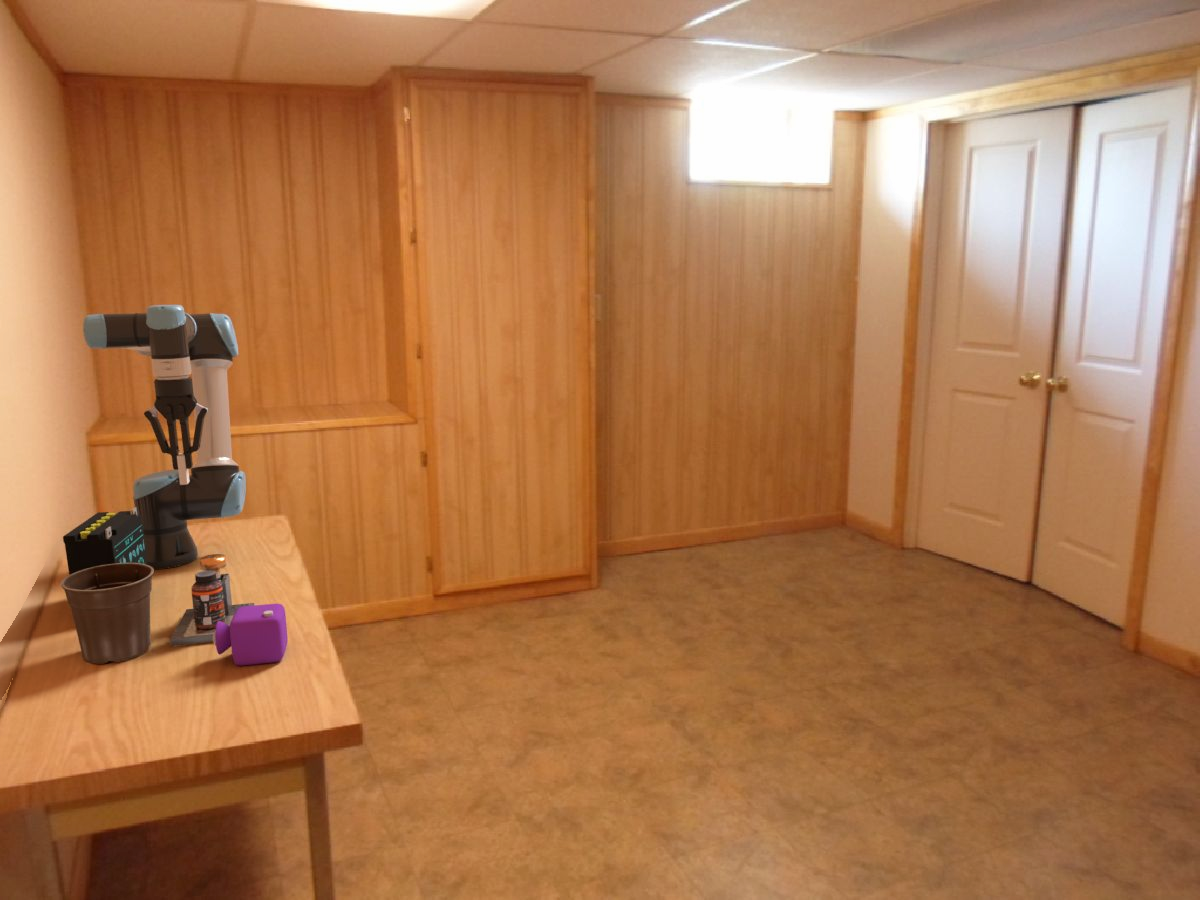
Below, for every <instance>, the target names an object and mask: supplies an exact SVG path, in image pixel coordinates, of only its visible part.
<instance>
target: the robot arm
mask: <svg viewBox="0 0 1200 900" xmlns="http://www.w3.org/2000/svg"><path fill="white" fill-rule="evenodd" d="M145 311H146V312H135V313H130V312H129V313H96V314H88V315H86V316H85V317H84V318H83V323H82V329H83V338H84V342H85V343H86V345H87V346H88V347H89V348H91V349H102V350H105V349H123V350H124V349H125V350H131V351H132V350H133V351H134V352H135V353H138V354H140V355H142V356H147V357H151V367H152V375H153V377H154V378H156V379H154V381H153V384H154V392H155V393H154V394H155V400H154V403H153V407H151V408H149V409H147V410H146V411H144V413H143V415H144V417H145V418H146V419H147V420H148V421H149V423H150V425H151V427H152V429H153V432H154V435H155V438H156V440H157V443H158V446H159V448H160V450H161V453H163V454H167V455H170V456H171V463H172V468H173V469H166V470H160V471H156V472H151V473H148V474H145V475H142V476H141V477H138V478H137V479H136V480H134V482H133V483H132V491H133V497H132V500H133V502H134V508H135V507H136V508H137V515H142V525H143V533H144V541H145V549H146V557H147V565H149V566H151V567H152V568H153V569H154V570H162V568H164V569H169V568H168V567H171V568H175V566H176V567H178V565H180V566H182V564H184V565H186V564H185V563H187V564H189V563H192V562H193V561H195V560H196V559H198V557H199V552H198V547H197V545H196V543H195V541H194V539H193V536H192V535H191V533H190V531H189V528H188V521H192V520H193V521H194V520H207V519H218V518H220V519H224V518H229V517H235V516H239V515H240V514H241V513H242V512H243V509H244V506H245V502H246V501H245V500H246V494H247V493H246V491H247V483H246V482H247V481H246V480H247V477H246V473H245V472H244V471H242V470H240V467H239V464H238V463H237V462H236V461H234V460H233V454H232V453H233V449H232V434H231V418H230V417H231V416H230V415H231V414H230V401H229V385H228V370H229V369H230V368H231V366H233V364H234V363H233V359H234V358H237V357H239V345H238V341H237V337H236V336H237V335H236V331H235V328H234V324H233V322H232V319H231V317H229V315H227V314H225V313H212V312H209V313H191V314H190V313H187V312H185V309H184V307H183V305H181V304H157V305H150V306H147V308H146V309H145ZM190 375H192V378H191V376H190ZM193 412H194V414H193V415H194V433H193V441H192V442H191V434H190V432H191V431H190V426H189V425H190V424H189V422H190V421H189V418H190V416H191V415H192V413H193ZM159 413H160V415H161V416H162V417H163V418H164V419H166V425H167V431H168V432H167V433H168V440H169V442H168V440H167V437H166V435H165V432H164V429H163V427H162V424H161V422H160V421H161V420H160V419H159V417H158V416H159ZM178 420H179V422H178V423H179V425H180V433H181V442H182V448H183V449H182V450H183V452H182V453H179V452H180V447H179V438H178V430H177V421H178ZM191 443H192V444H191ZM193 453H196V461H195V463H194V464H193ZM189 469H190V471H189ZM189 472H190V474H189ZM197 556H198V557H197Z"/></svg>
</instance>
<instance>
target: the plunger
mask: <svg viewBox="0 0 1200 900" xmlns="http://www.w3.org/2000/svg"><path fill="white" fill-rule="evenodd" d="M199 566H200V570H201V571H209V570H211V571H215V572H216V577H217V578H216V579H217V580H221V576H220V574H221V569H224V568H226V567H227V559H226V555H225V554H221V553H212V554H208V555H204V556H202V557H200V558H199Z"/></svg>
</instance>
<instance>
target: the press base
mask: <svg viewBox="0 0 1200 900" xmlns="http://www.w3.org/2000/svg"><path fill="white" fill-rule="evenodd" d="M220 576H221V580H218V581H220V582H221V583H222V589H223V599H224V610H225V624H227V625H228V626H230V623H231V620H232V618H233V616H234V614H235V612H236V610H237V609H238V608H240V607H244V606H254V605H255V603H254V602H249V603H239V604H233V601H232V600H233V599H232V591H231V590H232V589H231V582H230V581H231V580H230V573H220ZM215 630H216V628H211V629H200V628H197V627H196V626H195V620H194V610H193V608H186V609H185V611H184V613H183V614H182V617H181V618H180V621H179V622H178V624H177V626H176V628H175V630H173V631H174V632H173V634H172V635H171V637H170V638H169V643H170V644H169V645H170V647H179V646H180V647H181V646H188V645H189V646H190V645H199V644H209V643H214V642H213V634H214V632H215Z"/></svg>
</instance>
